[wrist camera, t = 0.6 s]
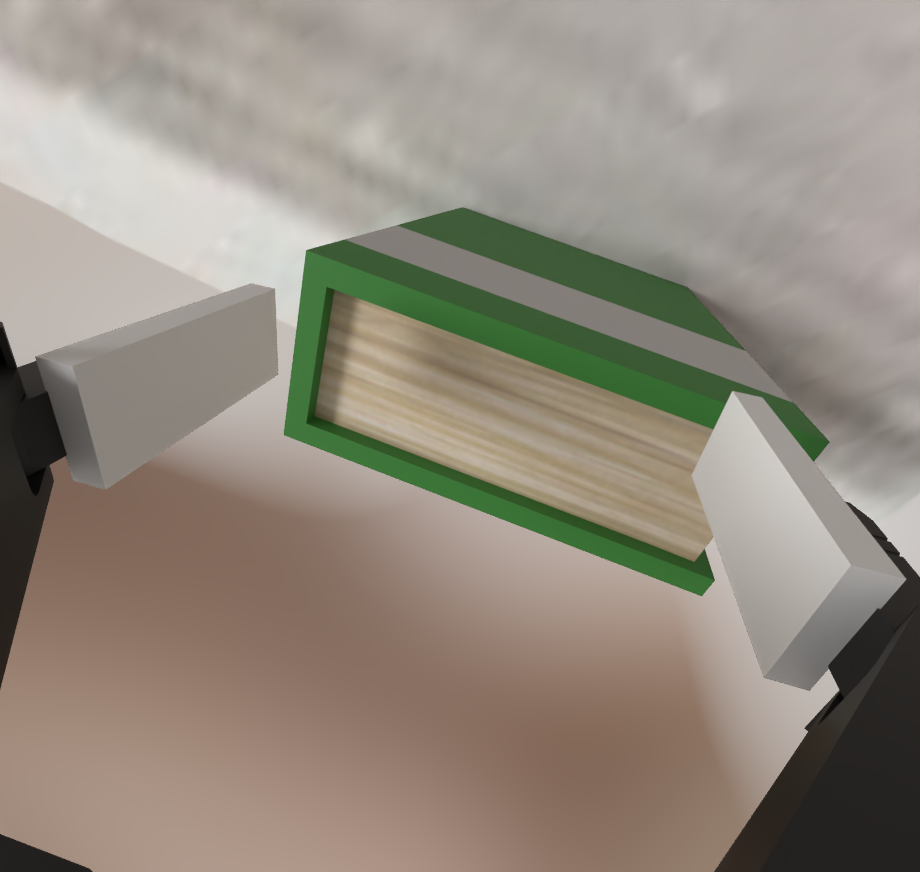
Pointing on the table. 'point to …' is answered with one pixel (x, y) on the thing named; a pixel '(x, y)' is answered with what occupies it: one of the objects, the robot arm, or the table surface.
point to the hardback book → (524, 384)
